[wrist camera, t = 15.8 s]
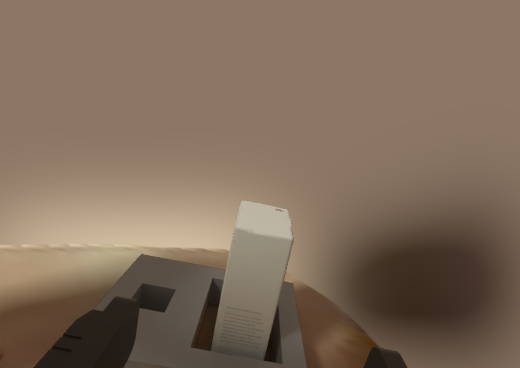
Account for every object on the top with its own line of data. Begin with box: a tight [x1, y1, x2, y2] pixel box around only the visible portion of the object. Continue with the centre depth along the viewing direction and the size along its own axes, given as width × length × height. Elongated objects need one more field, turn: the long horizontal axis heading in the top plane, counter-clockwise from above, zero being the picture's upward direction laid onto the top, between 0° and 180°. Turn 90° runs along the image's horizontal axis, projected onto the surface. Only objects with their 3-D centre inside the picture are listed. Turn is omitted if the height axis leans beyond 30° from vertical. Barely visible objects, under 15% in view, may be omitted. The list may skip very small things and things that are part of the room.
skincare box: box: [211, 201, 294, 361], centre depth 23 cm, size 6×4×12 cm
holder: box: [94, 254, 307, 368], centre depth 24 cm, size 16×12×3 cm
